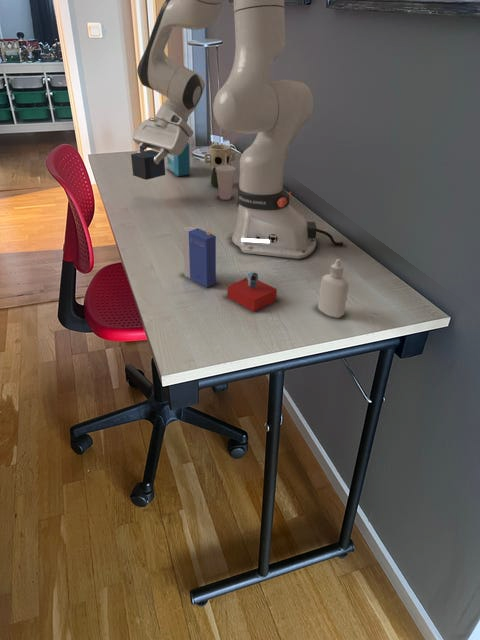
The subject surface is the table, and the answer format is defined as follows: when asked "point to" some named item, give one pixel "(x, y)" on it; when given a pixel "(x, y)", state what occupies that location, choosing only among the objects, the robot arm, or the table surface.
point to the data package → (180, 162)
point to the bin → (147, 165)
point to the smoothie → (225, 179)
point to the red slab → (252, 292)
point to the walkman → (200, 256)
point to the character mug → (218, 159)
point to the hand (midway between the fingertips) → (146, 160)
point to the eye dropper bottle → (333, 292)
